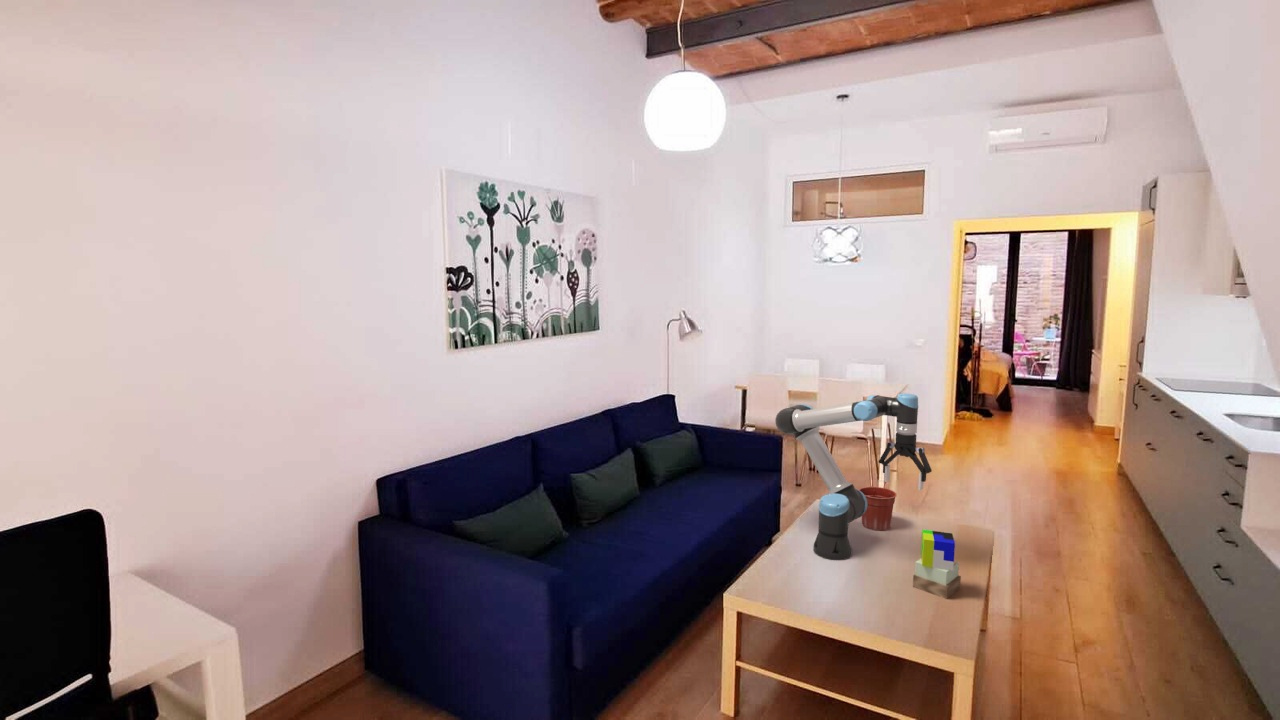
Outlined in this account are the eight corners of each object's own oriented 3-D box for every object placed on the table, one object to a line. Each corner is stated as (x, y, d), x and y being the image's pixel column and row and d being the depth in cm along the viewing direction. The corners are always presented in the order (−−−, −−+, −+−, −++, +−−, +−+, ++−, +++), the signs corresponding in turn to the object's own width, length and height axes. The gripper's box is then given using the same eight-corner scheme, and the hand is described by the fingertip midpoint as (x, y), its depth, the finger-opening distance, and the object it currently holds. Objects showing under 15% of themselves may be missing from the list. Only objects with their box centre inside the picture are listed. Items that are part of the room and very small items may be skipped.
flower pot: (860, 531, 283) (861, 497, 281) (854, 518, 299) (855, 485, 298) (898, 534, 281) (900, 499, 279) (890, 520, 297) (892, 487, 295)
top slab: (914, 575, 231) (915, 562, 230) (927, 566, 238) (928, 553, 238) (945, 585, 223) (946, 572, 222) (958, 575, 230) (958, 562, 230)
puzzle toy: (953, 570, 223) (955, 543, 222) (922, 566, 227) (924, 539, 226) (950, 559, 232) (952, 533, 231) (920, 555, 236) (922, 529, 235)
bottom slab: (912, 588, 231) (913, 575, 231) (926, 578, 239) (927, 565, 239) (946, 600, 222) (947, 586, 222) (959, 589, 231) (960, 576, 230)
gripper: (871, 429, 255) (869, 480, 258) (934, 440, 237) (931, 494, 240) (880, 426, 260) (877, 476, 263) (942, 437, 243) (939, 490, 245)
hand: (903, 485), depth 251 cm, fingers open, 13 cm apart
